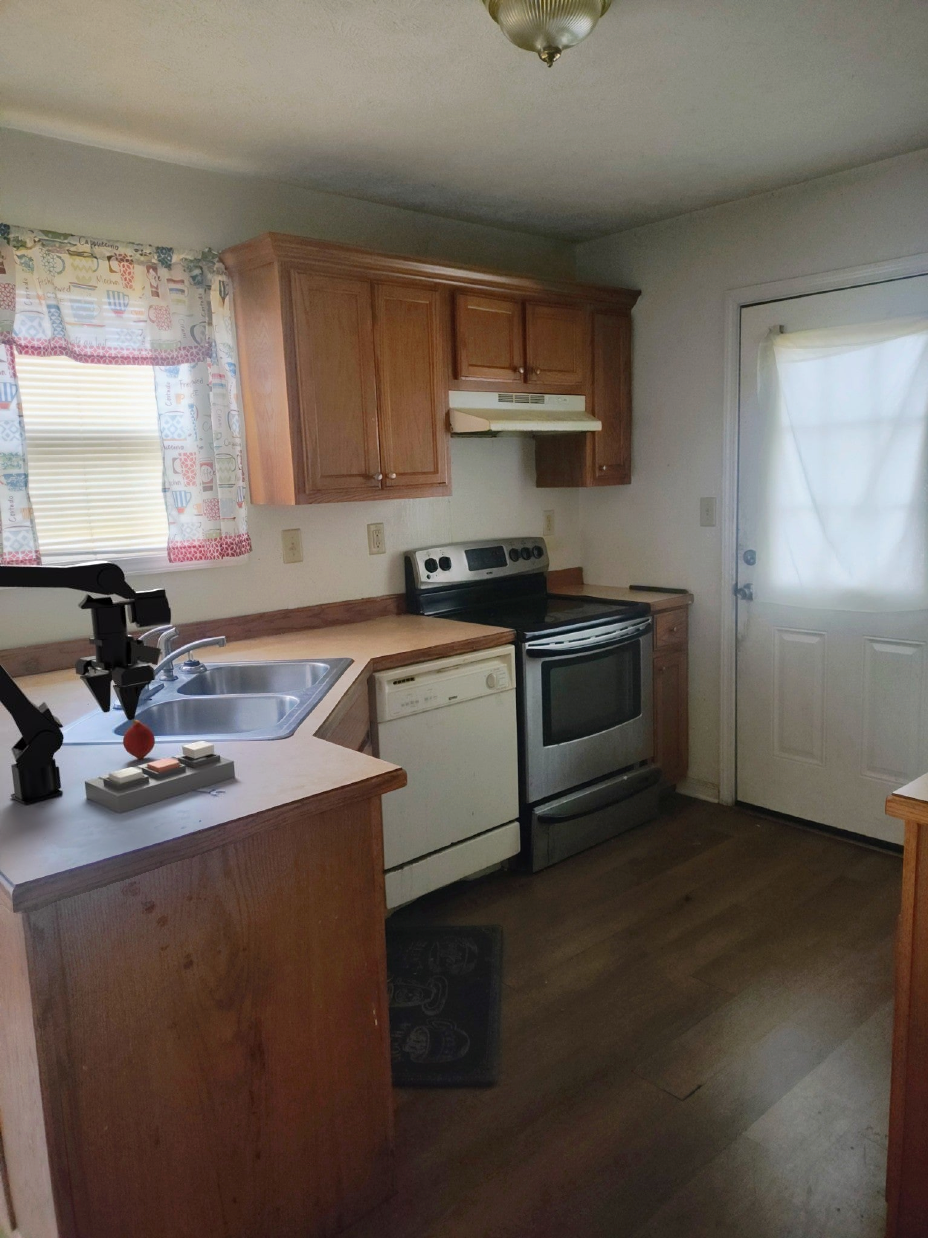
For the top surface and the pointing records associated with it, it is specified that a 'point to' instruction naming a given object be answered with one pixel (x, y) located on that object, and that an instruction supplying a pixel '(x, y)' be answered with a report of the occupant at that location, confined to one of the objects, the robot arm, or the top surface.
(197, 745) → the button right
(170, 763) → the button middle
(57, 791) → the robot arm
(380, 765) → the top surface
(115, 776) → the button left
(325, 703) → the top surface
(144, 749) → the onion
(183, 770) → the button panel
